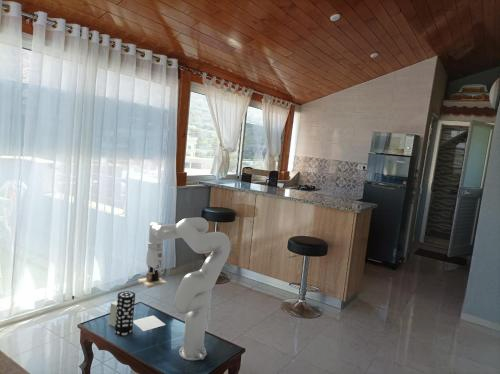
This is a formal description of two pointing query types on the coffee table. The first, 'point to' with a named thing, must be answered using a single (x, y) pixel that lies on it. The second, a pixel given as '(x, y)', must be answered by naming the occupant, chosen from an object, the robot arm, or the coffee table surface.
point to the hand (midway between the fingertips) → (152, 279)
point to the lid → (150, 283)
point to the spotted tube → (124, 313)
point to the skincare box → (113, 313)
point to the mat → (148, 323)
